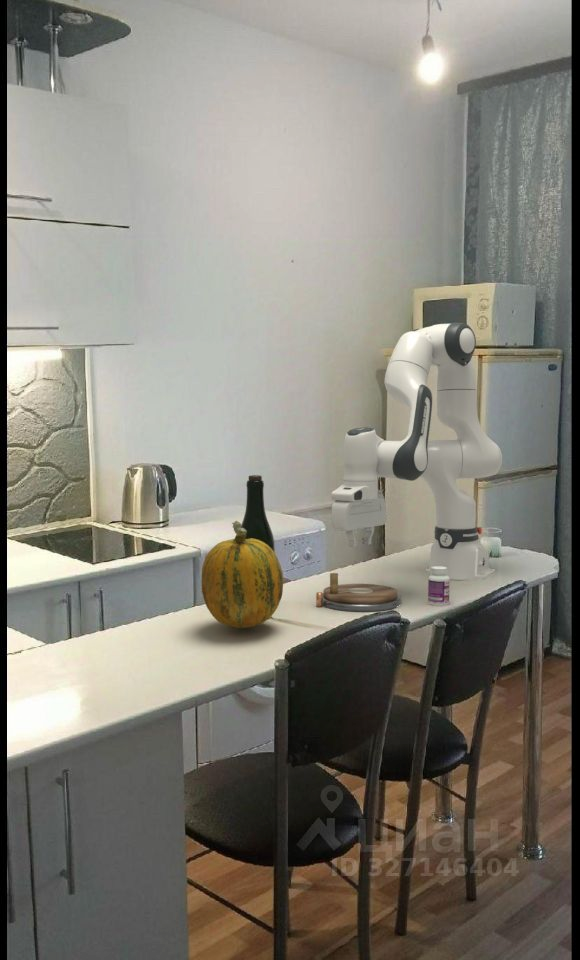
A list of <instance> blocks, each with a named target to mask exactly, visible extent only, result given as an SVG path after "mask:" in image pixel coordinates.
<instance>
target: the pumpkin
mask: <svg viewBox="0 0 580 960" xmlns="http://www.w3.org/2000/svg"><path fill="white" fill-rule="evenodd" d="M241 524H242V522H239V520H235V521H234V522H231V525H232V528H233V531H234V533H235V537H234V538H233V539H227V540H223V541H221V542H218V543H217V544H215V545H214V546H213V547H212V548H211V549H210V550H209V551H208V553H207V555H206V556H205V558H204V561H203V563H202V569H201V580H200V581H201V582H200V584H201V594H202V598H203V601H204V604H205V606H206V608H207V610H208V611H209V613H210V614H211V615H212V617H213V618H214V619H215V620H216V621H217V622H218V623H220V624H222V625H224V626H226V627H230V628H239V629H240V628H252V627H256V626H259V625H261V624H264V623H265V622H267V621H268V620H269V619H270V618H271V617H272V616H273V615H274V613H275V612H277V609H278V607H279V605H280V602H281V600H282V596H283V591H284V574H283V570H282V566H281V563H280V561H279V559H278V556H277V554H276V552H275V553H274V551H273V550H272V549H271V548H270V547H269V546H268V545H267V544H266V543H264V542H262V541H260V540H257V539H253V538H250V539H245V538H246V533H247V531H246V530H245V529H244V528H241Z"/></svg>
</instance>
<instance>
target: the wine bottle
mask: <svg viewBox="0 0 580 960" xmlns="http://www.w3.org/2000/svg"><path fill="white" fill-rule="evenodd" d="M262 479H263V476H262V475H259V474H258V475H255V474H252V475H249V476H248V480H246V503H245V504H246V505H245V512H244V517H243V520H242V522H241V528H244V529H245V530H246V531H247V533H246V538H245V539H250V538H253V539H257V540H260V541H262V542H264V543H266V544H267V545H268V546H269V547H270V548H271V549H272V550H273V551H274V553H275V554H276V546H275V539H274V534H273V532H272V528H271V526H270V523H269V521H268V517H267V515H266V509H265V508H266V507H265V497H264V488H265V487H264V486H265V483H264V480H262Z"/></svg>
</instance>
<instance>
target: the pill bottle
mask: <svg viewBox="0 0 580 960" xmlns="http://www.w3.org/2000/svg"><path fill="white" fill-rule="evenodd" d="M431 573H432V575H430V574H429V576H428V580H427V581H428V582H427V583H428V584H427V587H428V588H427V589H428V590H427V603H429V604H428V605H430V604H432V605H431V606H433V605H436V606H435V607H444V606H446V607H447V606H448V605H449V604H450V582H451V579H449V577H448V576H447V575H446V573H447V568H446V567H442V566H434V567H431Z"/></svg>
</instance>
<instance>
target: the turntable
mask: <svg viewBox="0 0 580 960" xmlns="http://www.w3.org/2000/svg"><path fill="white" fill-rule="evenodd" d="M322 593H323V597H324V598H325V599H326V600H329V601H332V602H337V603H343V604H355V605H371V604H383V603H388V602H392V601H395V600H396V599H397V598H398V595H399V592H398V589H396V588H395V587H391V586H387V585H381V584H372V583H344V584H339V573H337V572H331V573H330V574H329V586H327V587H325V588H324V589H323V591H322Z"/></svg>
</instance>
